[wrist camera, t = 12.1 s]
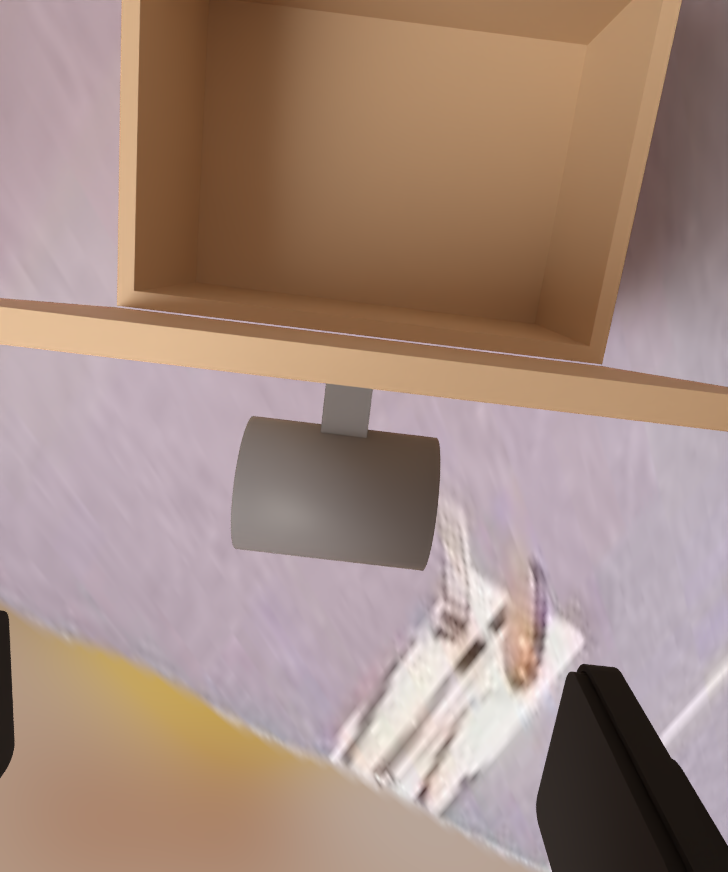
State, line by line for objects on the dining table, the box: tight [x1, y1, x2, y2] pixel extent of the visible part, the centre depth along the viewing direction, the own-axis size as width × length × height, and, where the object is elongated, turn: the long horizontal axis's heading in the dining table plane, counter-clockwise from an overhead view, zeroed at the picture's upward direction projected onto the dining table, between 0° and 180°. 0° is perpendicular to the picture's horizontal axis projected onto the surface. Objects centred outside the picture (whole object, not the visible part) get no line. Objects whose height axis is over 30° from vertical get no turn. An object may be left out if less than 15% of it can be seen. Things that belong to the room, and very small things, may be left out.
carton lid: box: [0, 298, 728, 571], centre depth 23 cm, size 18×24×6 cm
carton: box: [117, 0, 682, 364], centre depth 35 cm, size 18×24×12 cm
